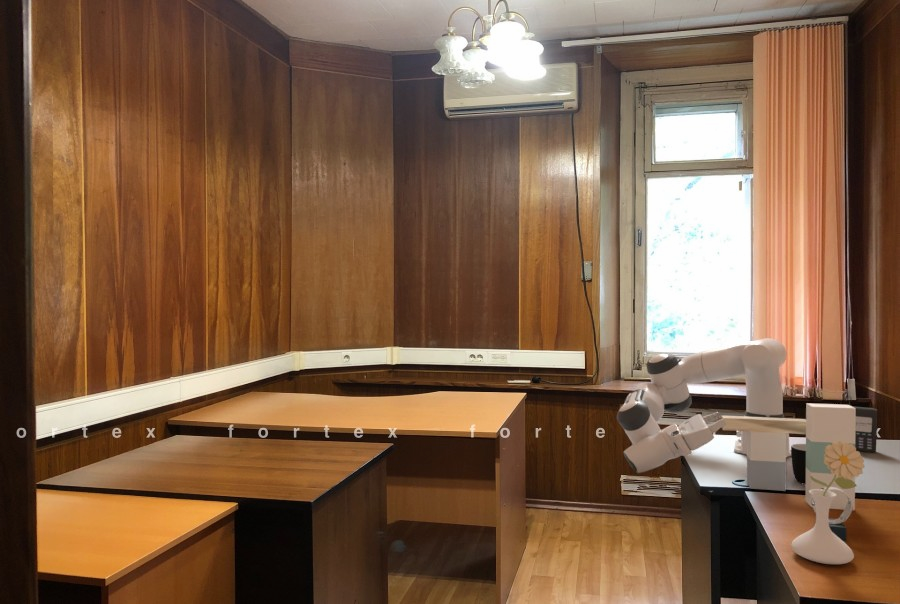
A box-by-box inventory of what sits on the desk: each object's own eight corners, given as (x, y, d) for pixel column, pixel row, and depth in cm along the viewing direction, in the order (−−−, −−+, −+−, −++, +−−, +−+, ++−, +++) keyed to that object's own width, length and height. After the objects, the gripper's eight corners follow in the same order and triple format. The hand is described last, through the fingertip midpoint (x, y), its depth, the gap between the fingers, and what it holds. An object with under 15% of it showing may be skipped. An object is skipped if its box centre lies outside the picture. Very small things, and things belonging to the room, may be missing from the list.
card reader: (844, 450, 223) (845, 407, 223) (845, 447, 227) (845, 405, 226) (876, 453, 218) (876, 409, 218) (876, 451, 221) (876, 408, 221)
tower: (805, 500, 171) (806, 403, 170) (847, 503, 168) (848, 404, 168) (811, 507, 166) (811, 406, 165) (854, 510, 163) (855, 408, 163)
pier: (746, 483, 186) (747, 428, 186) (781, 485, 184) (781, 429, 184) (750, 488, 181) (750, 431, 181) (785, 490, 179) (785, 433, 179)
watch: (808, 529, 151) (809, 482, 150) (848, 533, 148) (848, 486, 148) (814, 538, 145) (815, 490, 145) (855, 542, 143) (855, 493, 143)
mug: (833, 486, 183) (833, 451, 183) (802, 487, 183) (802, 451, 182) (807, 474, 195) (807, 441, 195) (778, 474, 194) (778, 441, 194)
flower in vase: (795, 565, 131) (796, 443, 131) (787, 544, 142) (788, 431, 142) (869, 575, 127) (870, 448, 126) (856, 552, 137) (857, 436, 137)
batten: (721, 427, 187) (721, 415, 187) (804, 431, 181) (805, 419, 181) (723, 430, 184) (723, 417, 184) (808, 434, 178) (808, 421, 178)
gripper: (680, 440, 198) (722, 420, 195) (687, 458, 178) (733, 435, 175) (669, 422, 199) (711, 401, 195) (675, 437, 179) (721, 415, 176)
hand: (722, 417), depth 185 cm, fingers open, 8 cm apart
